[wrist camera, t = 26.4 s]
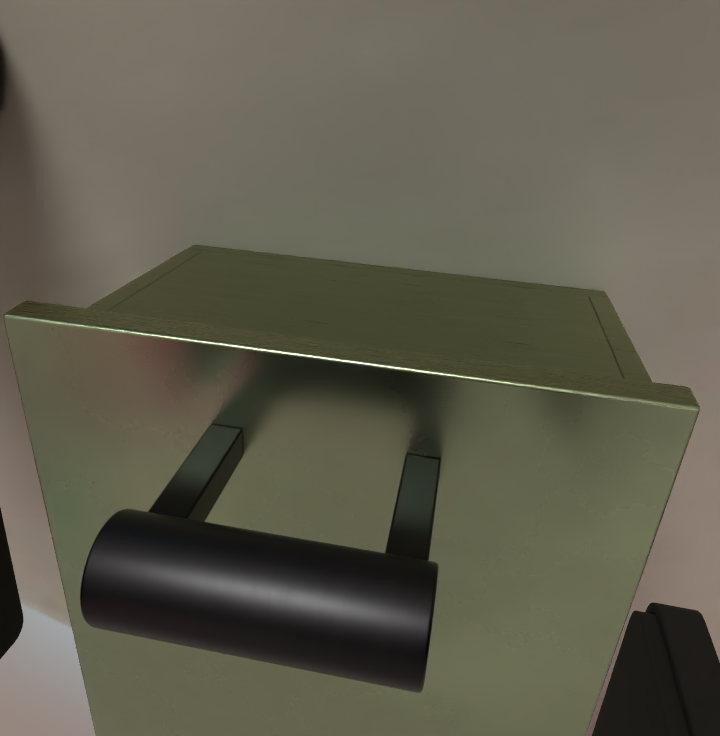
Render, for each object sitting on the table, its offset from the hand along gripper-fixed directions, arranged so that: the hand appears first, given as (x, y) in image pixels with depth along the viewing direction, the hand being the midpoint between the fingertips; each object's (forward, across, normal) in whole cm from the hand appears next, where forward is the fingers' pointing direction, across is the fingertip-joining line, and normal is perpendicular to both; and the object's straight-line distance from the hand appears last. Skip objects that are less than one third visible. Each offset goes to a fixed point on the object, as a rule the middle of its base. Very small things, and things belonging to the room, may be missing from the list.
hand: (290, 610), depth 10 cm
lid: (+5, +1, +5) cm, 7 cm away
